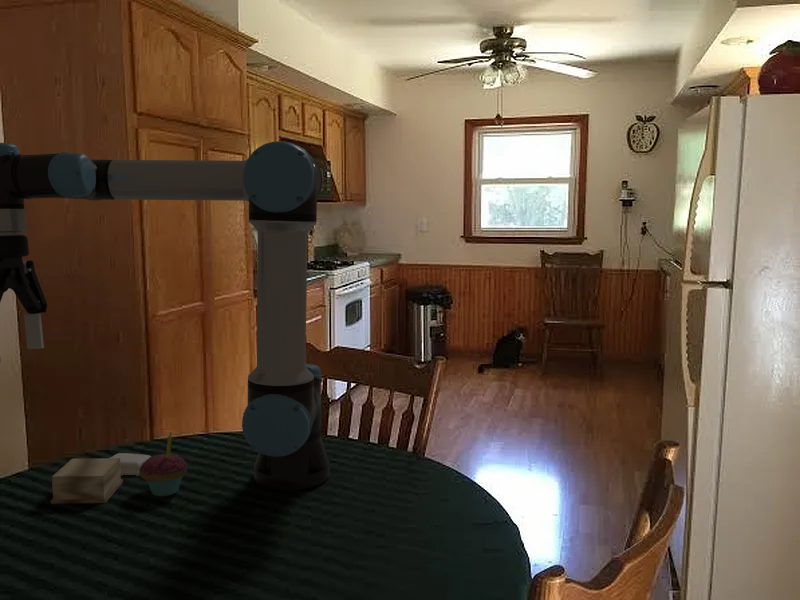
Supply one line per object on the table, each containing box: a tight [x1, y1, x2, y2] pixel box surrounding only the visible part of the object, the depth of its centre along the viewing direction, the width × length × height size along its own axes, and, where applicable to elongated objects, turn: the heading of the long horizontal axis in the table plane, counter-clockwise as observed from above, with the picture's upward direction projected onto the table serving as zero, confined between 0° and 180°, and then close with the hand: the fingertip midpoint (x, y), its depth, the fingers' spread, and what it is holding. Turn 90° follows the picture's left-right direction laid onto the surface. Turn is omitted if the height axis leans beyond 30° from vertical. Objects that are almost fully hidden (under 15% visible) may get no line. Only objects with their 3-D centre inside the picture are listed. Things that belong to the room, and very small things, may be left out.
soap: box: [110, 452, 152, 477], centre depth 140 cm, size 9×7×3 cm
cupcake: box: [139, 431, 188, 497], centre depth 128 cm, size 9×8×12 cm
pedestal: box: [50, 457, 124, 505], centre depth 128 cm, size 10×10×5 cm
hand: (14, 355), depth 120 cm, fingers open, 13 cm apart
